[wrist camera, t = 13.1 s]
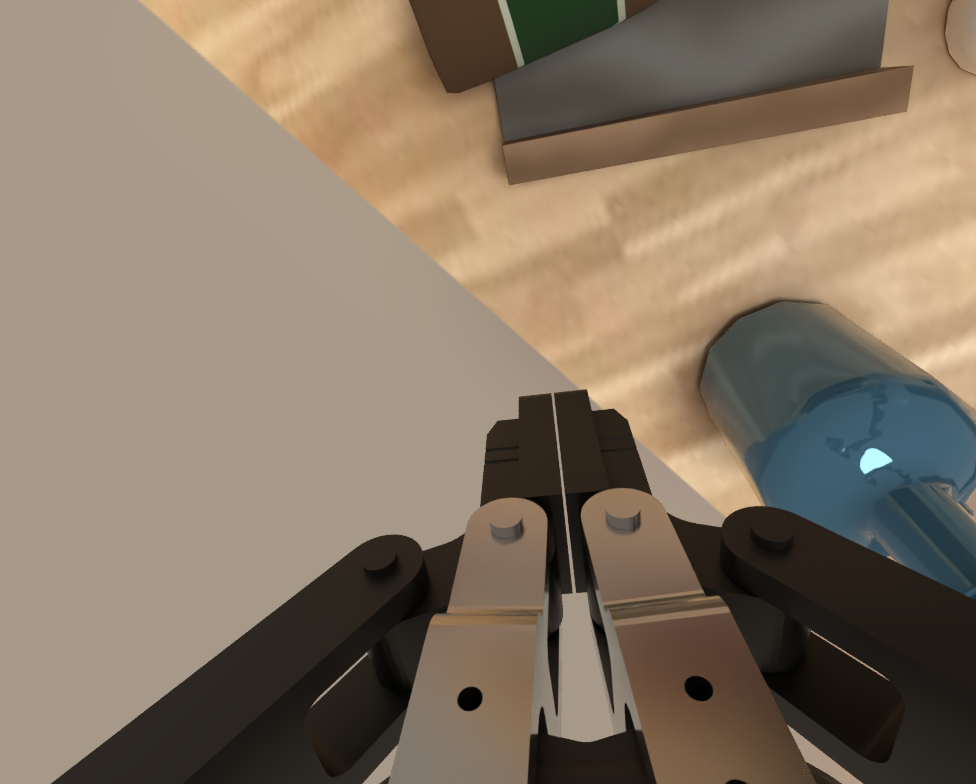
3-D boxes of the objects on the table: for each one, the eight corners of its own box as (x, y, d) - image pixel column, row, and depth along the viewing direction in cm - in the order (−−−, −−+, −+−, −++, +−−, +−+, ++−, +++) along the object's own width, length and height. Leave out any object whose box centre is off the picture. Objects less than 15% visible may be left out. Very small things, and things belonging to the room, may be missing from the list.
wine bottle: (665, 360, 48) (843, 685, 22) (810, 261, 44) (1259, 517, 17) (746, 461, 53) (976, 831, 26) (886, 380, 48) (1335, 730, 22)
